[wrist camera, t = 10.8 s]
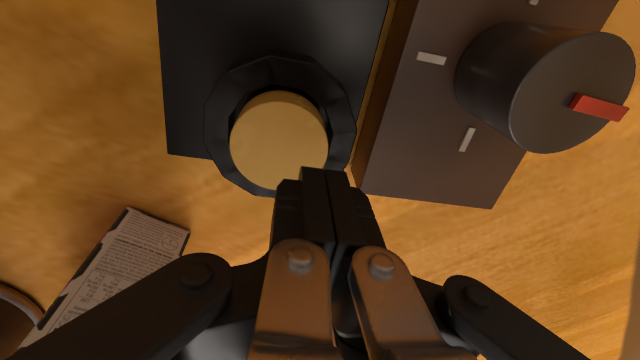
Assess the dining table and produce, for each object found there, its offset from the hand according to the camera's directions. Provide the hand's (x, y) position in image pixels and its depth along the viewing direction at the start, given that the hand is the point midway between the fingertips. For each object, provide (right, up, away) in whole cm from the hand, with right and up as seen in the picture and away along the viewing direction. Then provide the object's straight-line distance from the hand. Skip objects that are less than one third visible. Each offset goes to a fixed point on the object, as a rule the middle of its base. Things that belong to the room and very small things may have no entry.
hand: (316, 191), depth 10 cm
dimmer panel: (+8, +6, +8) cm, 12 cm away
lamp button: (-2, +3, +5) cm, 6 cm away
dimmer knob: (+9, +6, +4) cm, 11 cm away
